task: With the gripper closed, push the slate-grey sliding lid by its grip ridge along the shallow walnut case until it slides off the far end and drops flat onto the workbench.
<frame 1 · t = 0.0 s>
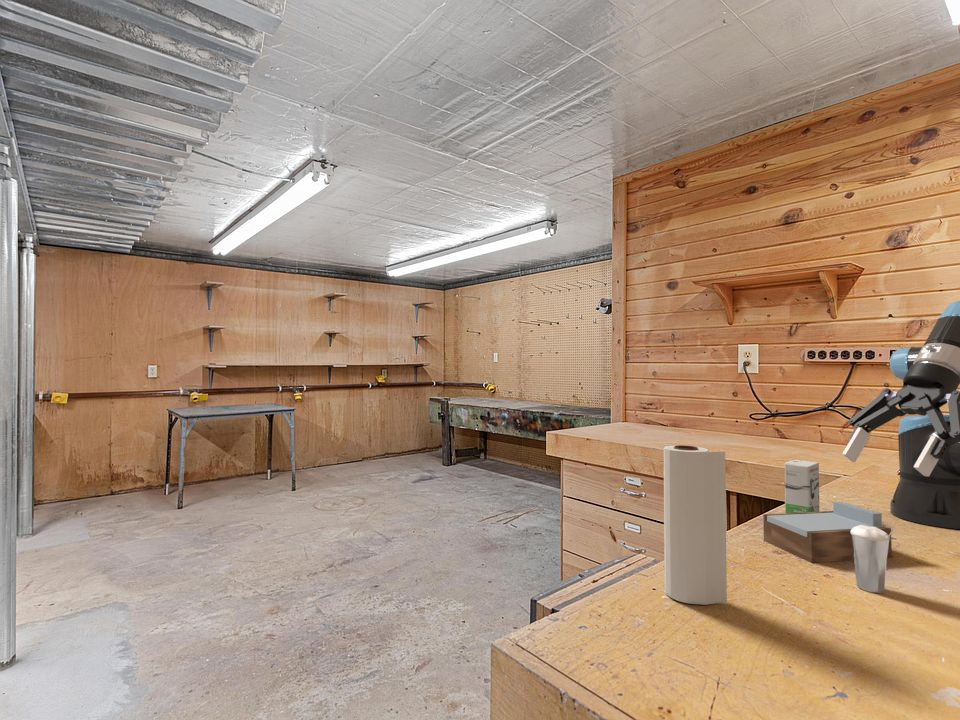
hand: (881, 464, 89), 15 cm above the workbench, tool tilted 35°, fingers open, 13 cm apart
milkshake: (873, 591, 72), on the workbench
case: (824, 548, 89), on the workbench
lid: (824, 526, 89), point 4 cm above the workbench, touching case
paper towel roll: (690, 598, 69), on the workbench
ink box: (802, 514, 111), on the workbench
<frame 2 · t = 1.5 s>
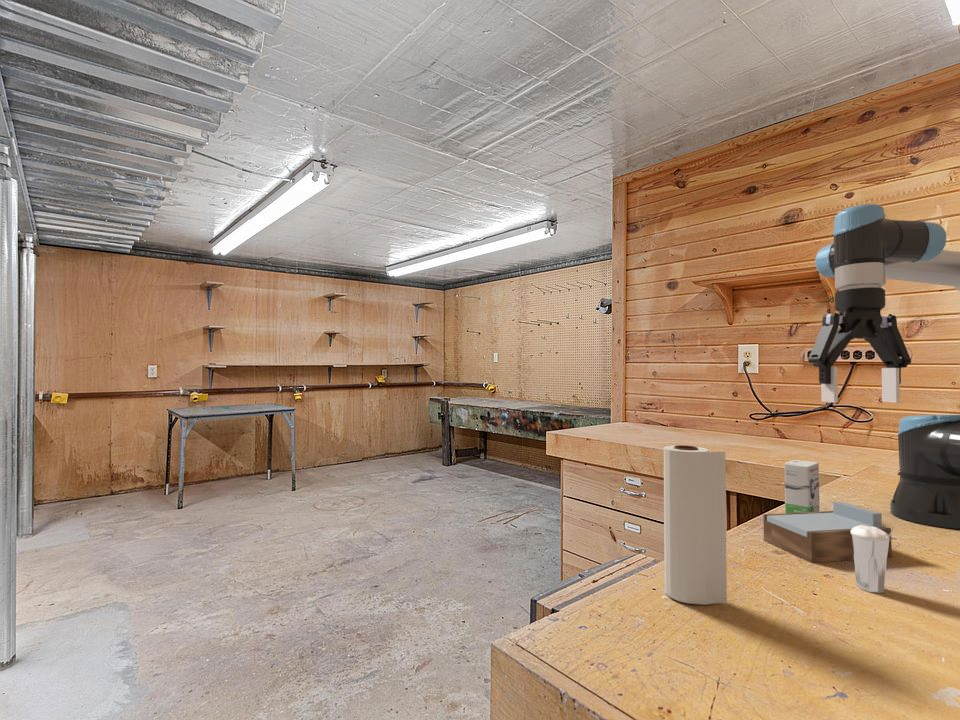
hand: (860, 402, 91), 27 cm above the workbench, tool pointing down, fingers open, 13 cm apart
nothing on the workbench moved.
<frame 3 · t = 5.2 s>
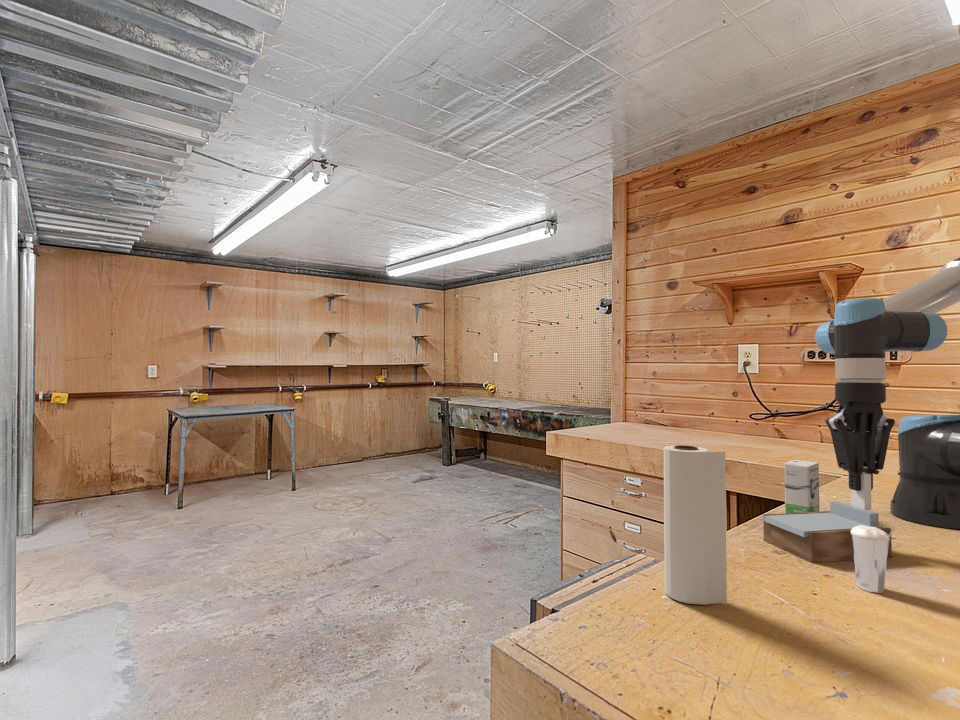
hand: (861, 507, 90), 7 cm above the workbench, tool pointing down, fingers closed
lid: (821, 526, 89), point 4 cm above the workbench
everything else where it was.
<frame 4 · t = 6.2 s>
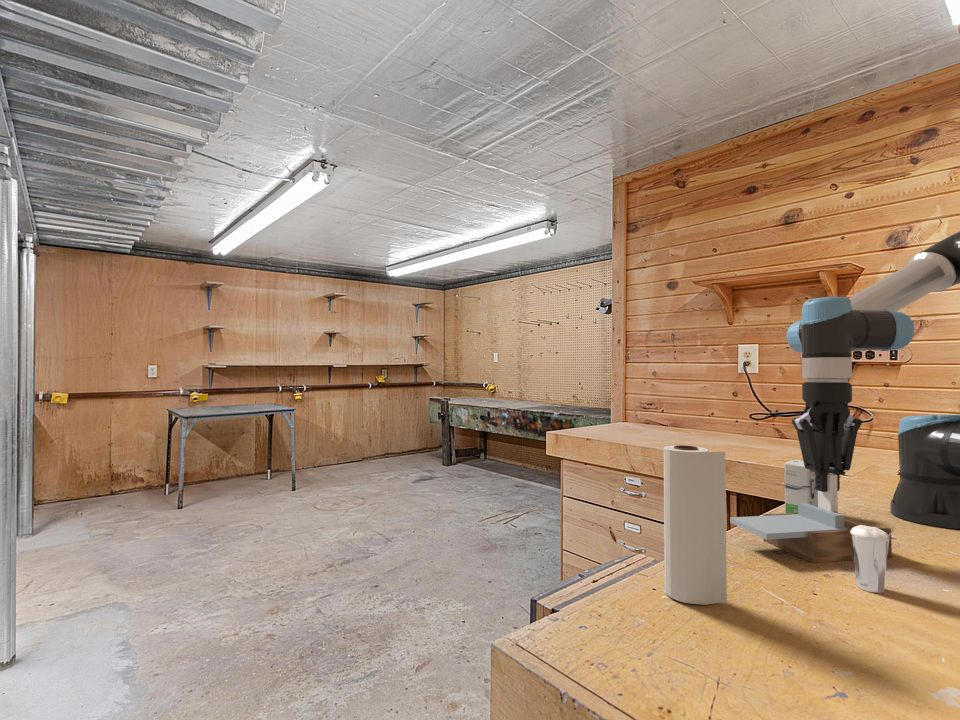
hand: (827, 508, 89), 7 cm above the workbench, tool pointing down, fingers closed
lid: (787, 528, 87), point 4 cm above the workbench, touching case, gripper
everything else where it was.
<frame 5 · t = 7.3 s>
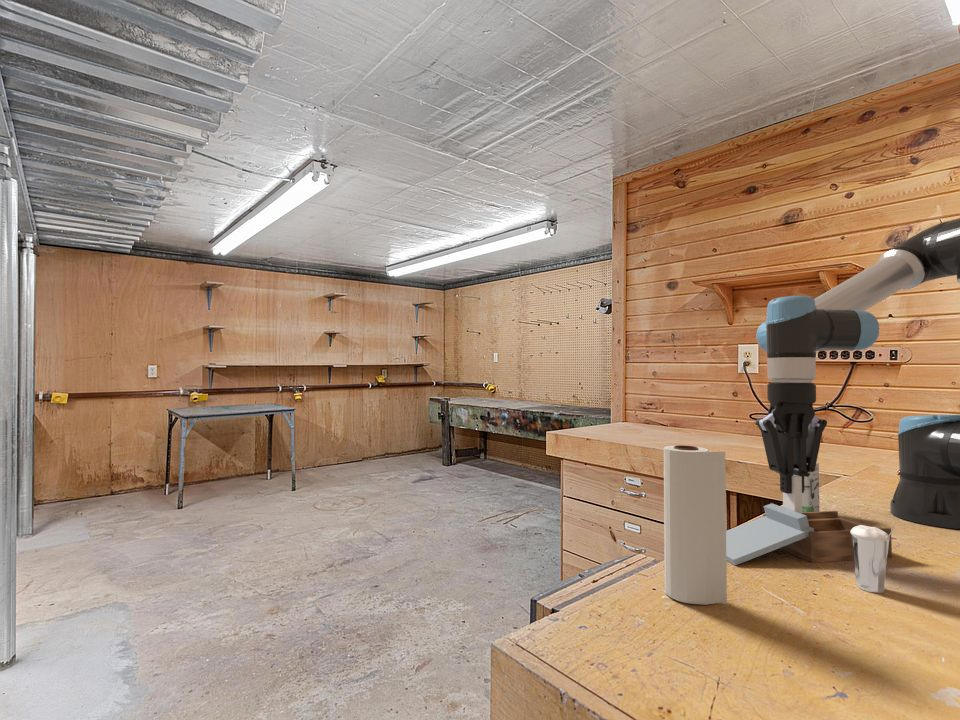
hand: (792, 510, 88), 7 cm above the workbench, tool pointing down, fingers closed
lid: (756, 540, 86), point 2 cm above the workbench, tilted 16°, touching gripper
everything else where it was.
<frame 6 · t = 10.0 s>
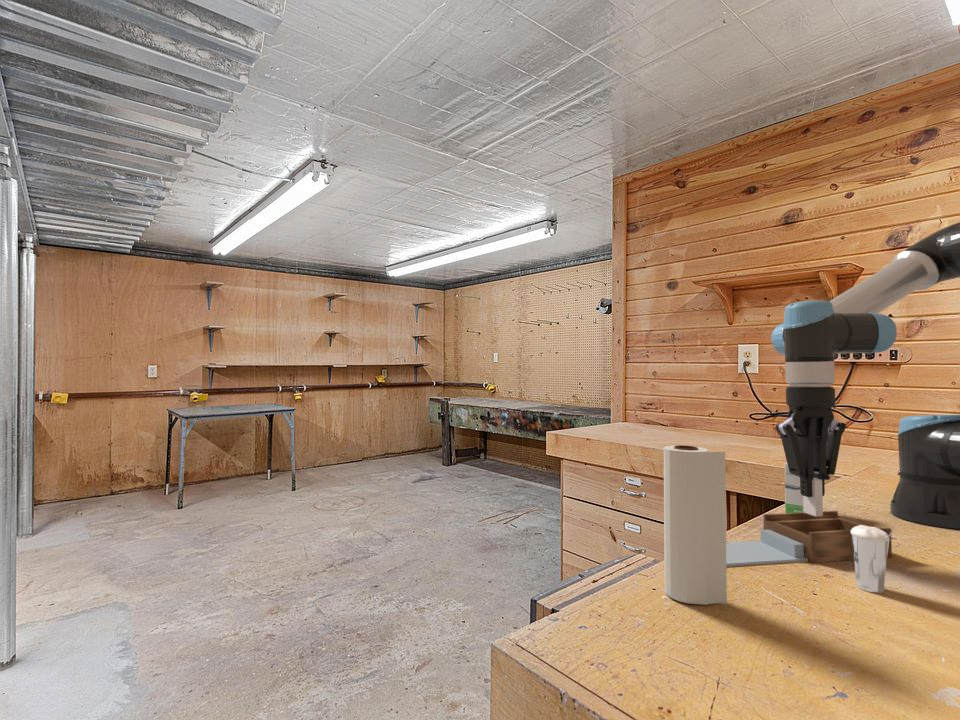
hand: (813, 514, 88), 6 cm above the workbench, tool pointing down, fingers closed
lid: (747, 556, 86), on the workbench
everything else where it was.
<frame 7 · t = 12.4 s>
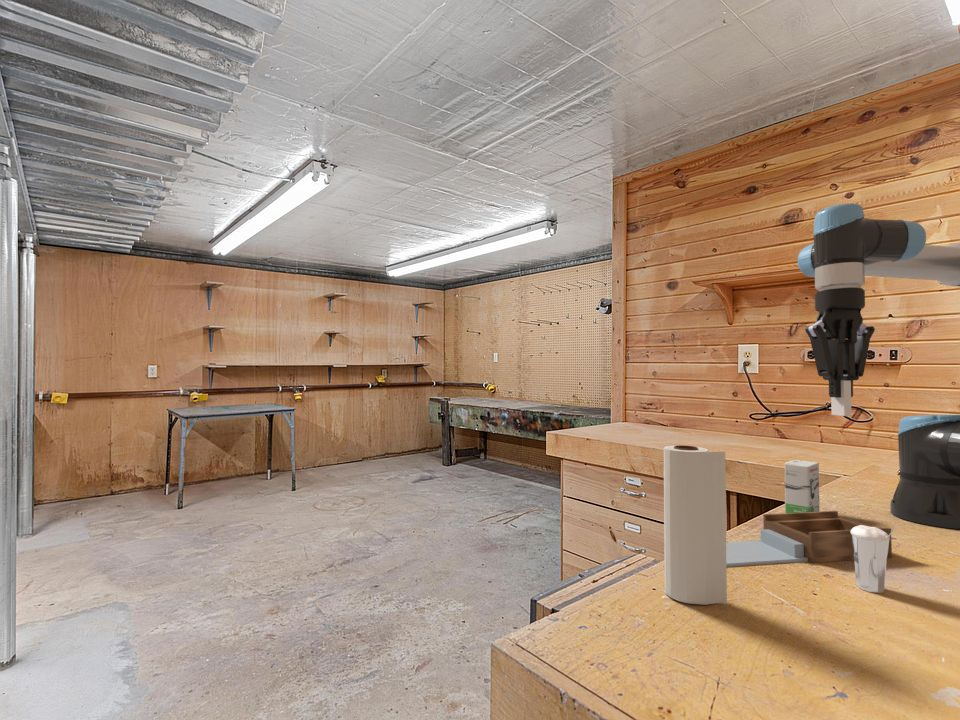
hand: (841, 415, 90), 24 cm above the workbench, tool pointing down, fingers closed
nothing on the workbench moved.
at the end: lid inside the target area (8.0 cm from its centre), on the workbench; lid touching workbench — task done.
